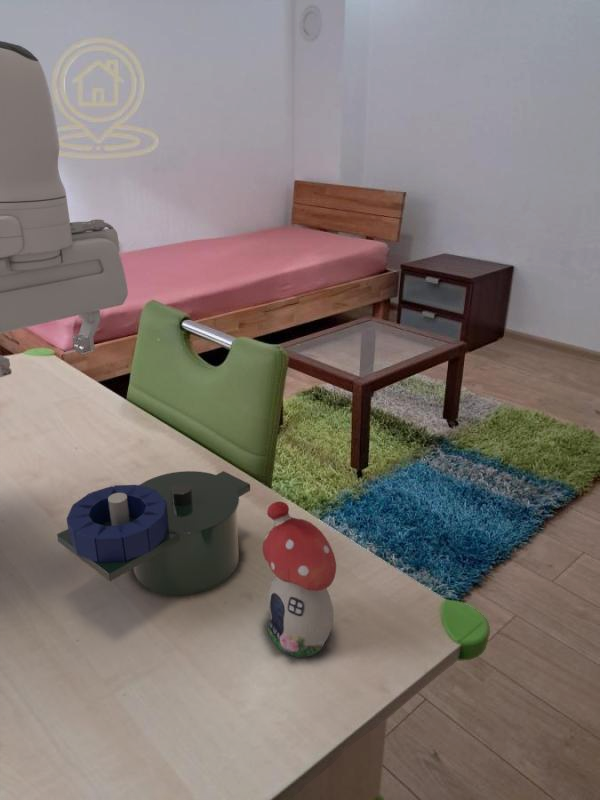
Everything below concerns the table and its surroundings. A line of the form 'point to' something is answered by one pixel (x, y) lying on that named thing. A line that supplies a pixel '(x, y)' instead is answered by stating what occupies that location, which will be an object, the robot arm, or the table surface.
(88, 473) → the table surface
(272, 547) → the decorative ornament
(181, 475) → the pot
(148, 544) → the tape roll
